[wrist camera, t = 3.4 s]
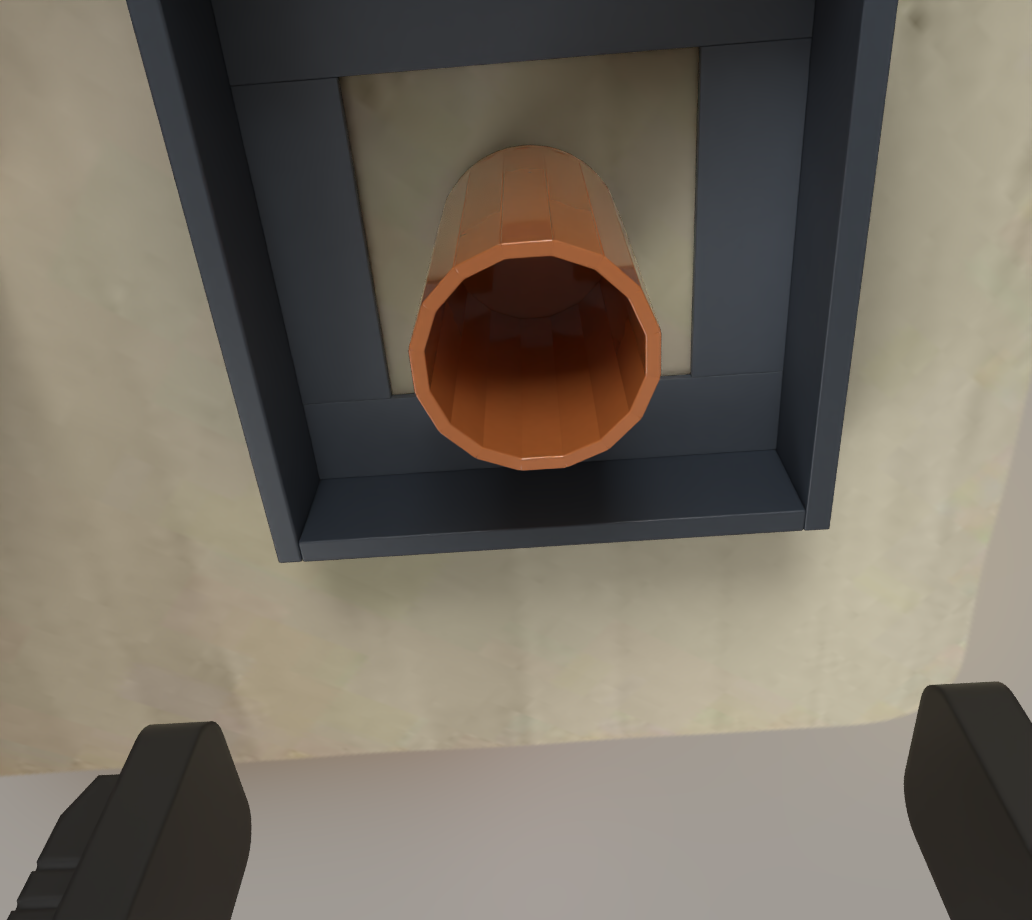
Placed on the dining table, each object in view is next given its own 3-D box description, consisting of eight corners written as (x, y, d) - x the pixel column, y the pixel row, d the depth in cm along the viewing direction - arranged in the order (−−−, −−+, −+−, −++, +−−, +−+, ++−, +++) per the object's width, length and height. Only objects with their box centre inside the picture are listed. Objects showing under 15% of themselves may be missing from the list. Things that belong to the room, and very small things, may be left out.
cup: (450, 327, 29) (427, 477, 21) (429, 152, 26) (392, 251, 18) (621, 315, 29) (660, 462, 21) (618, 137, 26) (662, 230, 18)
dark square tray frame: (303, 495, 32) (278, 564, 29) (166, -71, 23) (105, -69, 20) (795, 463, 31) (829, 529, 28) (856, -134, 22) (918, -143, 19)
